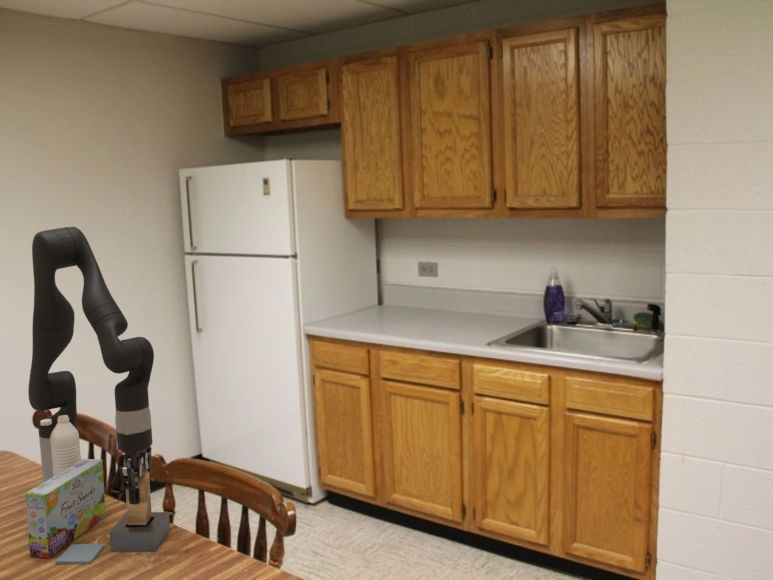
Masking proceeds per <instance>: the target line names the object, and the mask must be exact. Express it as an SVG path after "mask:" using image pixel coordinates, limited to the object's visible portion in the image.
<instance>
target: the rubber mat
mask: <svg viewBox="0 0 773 580" xmlns="http://www.w3.org/2000/svg"><path fill="white" fill-rule="evenodd" d="M105 547H106V544H105V543H98V544H97V543H92V544H91V543H88V544H87V543H80V544H77V543H73V544H70V546H69V547H67V549H66V550H65V551H64V552H63V553H62V554H61V555H60V556H59V557H58V558H57V559H56V561H55V565H91V564H92V563H93V562H94V560H95V559H96V558H97V556H98V555H99V554H100V553H101V552H102V551H103V550H104V548H105Z"/></svg>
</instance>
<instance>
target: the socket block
mask: <svg viewBox="0 0 773 580" xmlns="http://www.w3.org/2000/svg"><path fill="white" fill-rule="evenodd" d="M151 512H152V511H151ZM170 531H171V525H170V512H168V511H166V512H165V511H153V512H152V517H151V519H150V520H149V521H148V522H147V524H146V525H128V517H127V512H126V513H125V514H124V515H123V516H122V517H121V519H120V520H119V521H118V522H117V523H116V524H115V525H114V526H113V528H112V529H110V531H109V543H110V545H109V546H110V552H111V553H113V552H115V553H116V552H119V553H120V552H121V553H122V552H124V553H125V552H132V553H133V552H156V551H157V550H158V548H159V547H160V546H161V544H162V543H163V541H164V540H165V538H166V537H167V535H168V534H169V533H170ZM163 539H164V540H163Z"/></svg>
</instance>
